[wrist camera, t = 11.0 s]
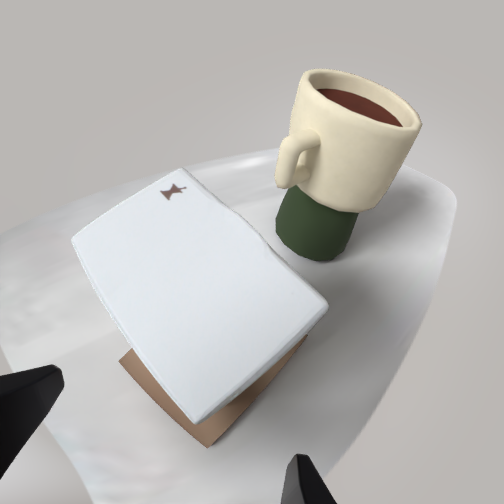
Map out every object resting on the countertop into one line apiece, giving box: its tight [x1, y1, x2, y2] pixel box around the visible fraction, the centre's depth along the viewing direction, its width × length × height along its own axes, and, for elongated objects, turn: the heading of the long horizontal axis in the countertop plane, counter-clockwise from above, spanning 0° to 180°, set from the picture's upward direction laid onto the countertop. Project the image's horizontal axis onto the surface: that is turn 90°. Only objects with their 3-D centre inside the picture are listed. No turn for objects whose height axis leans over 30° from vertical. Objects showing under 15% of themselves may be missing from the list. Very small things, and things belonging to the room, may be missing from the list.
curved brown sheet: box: [119, 334, 308, 448], centre depth 17 cm, size 10×8×1 cm
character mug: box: [275, 69, 422, 261], centre depth 17 cm, size 11×7×13 cm, turn 126°
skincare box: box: [71, 168, 329, 424], centre depth 11 cm, size 6×4×12 cm
